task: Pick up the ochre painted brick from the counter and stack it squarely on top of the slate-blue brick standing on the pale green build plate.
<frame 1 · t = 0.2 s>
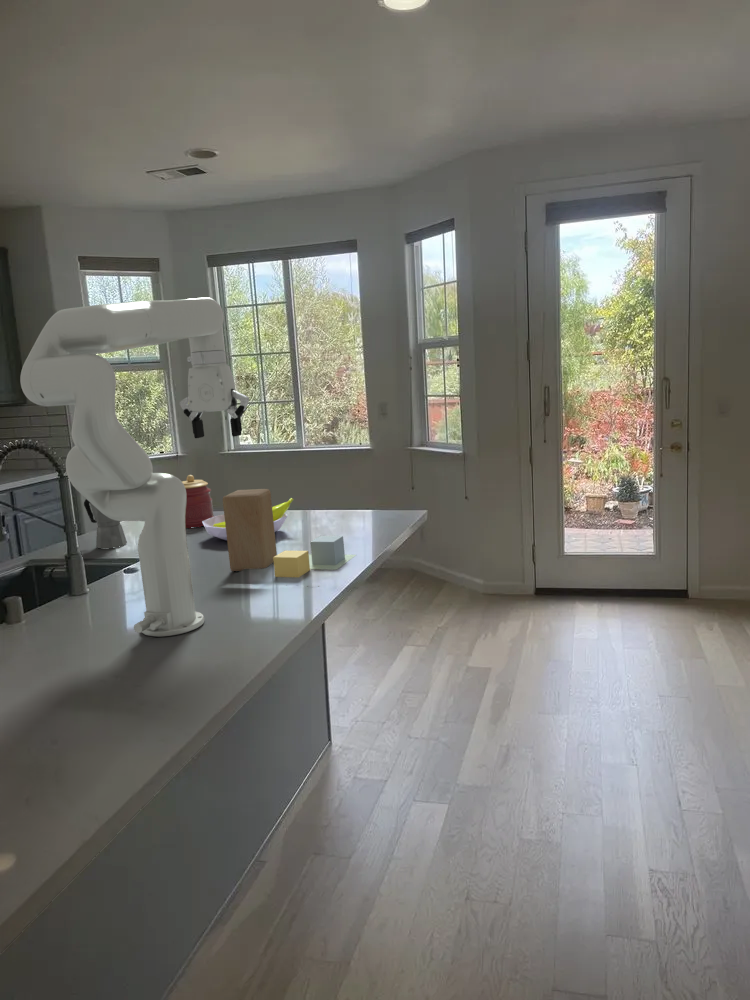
hand: (218, 436, 167), 36 cm above the worktop, tool pointing down, fingers open, 9 cm apart
build plate: (322, 565, 190), on the worktop
coffeepot: (109, 546, 233), on the worktop
block: (254, 567, 193), on the worktop
fruit bowl: (250, 537, 231), on the worktop
canister: (196, 525, 256), on the worktop
ochre brick: (293, 577, 180), on the worktop
slate brick: (328, 561, 189), point 1 cm above the worktop, touching build plate
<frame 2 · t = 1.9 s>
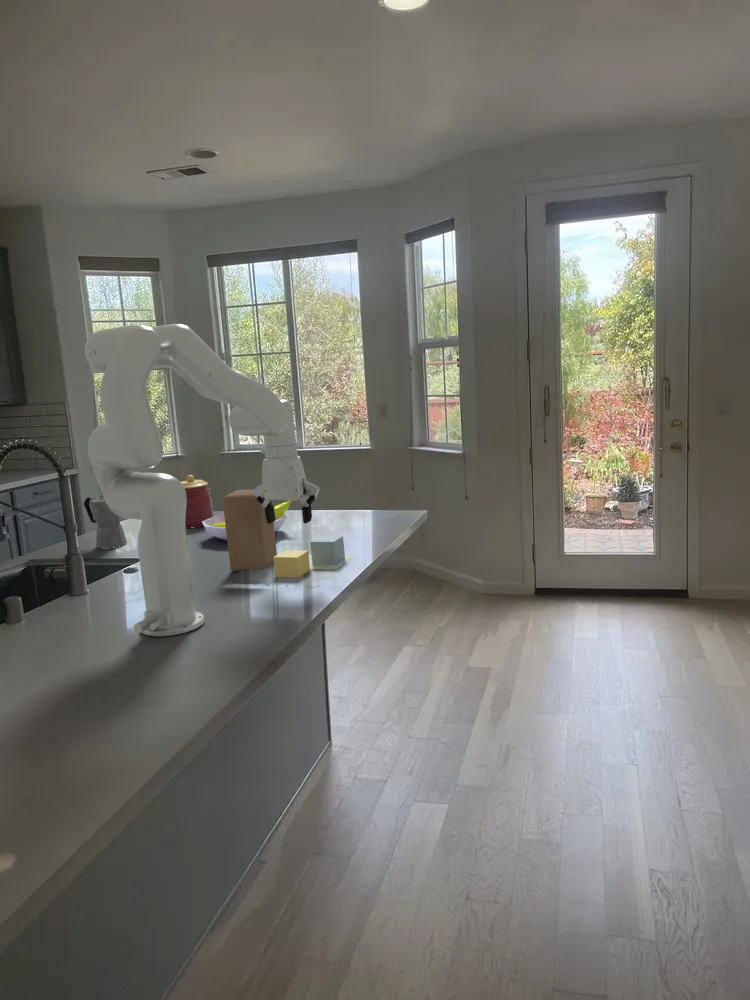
hand: (289, 522, 178), 14 cm above the worktop, tool pointing down, fingers open, 9 cm apart
nothing on the worktop moved.
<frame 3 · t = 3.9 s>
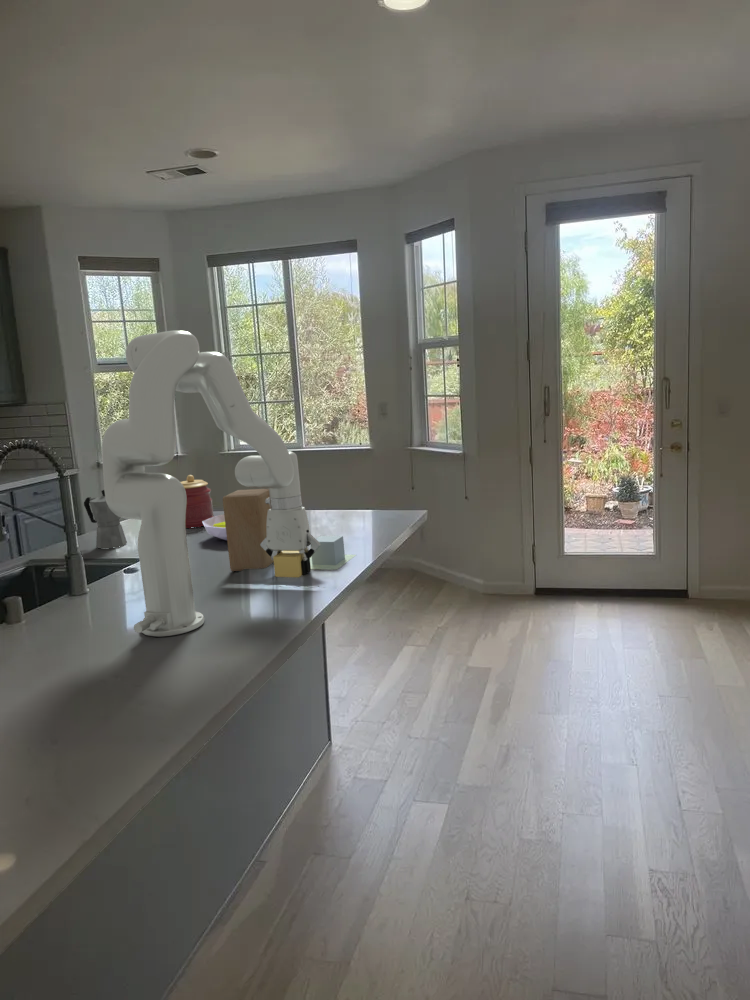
hand: (293, 574, 180), 1 cm above the worktop, tool pointing down, fingers closed on ochre brick, 6 cm apart
ochre brick: (293, 577, 180), on the worktop, touching gripper
everything else where it was.
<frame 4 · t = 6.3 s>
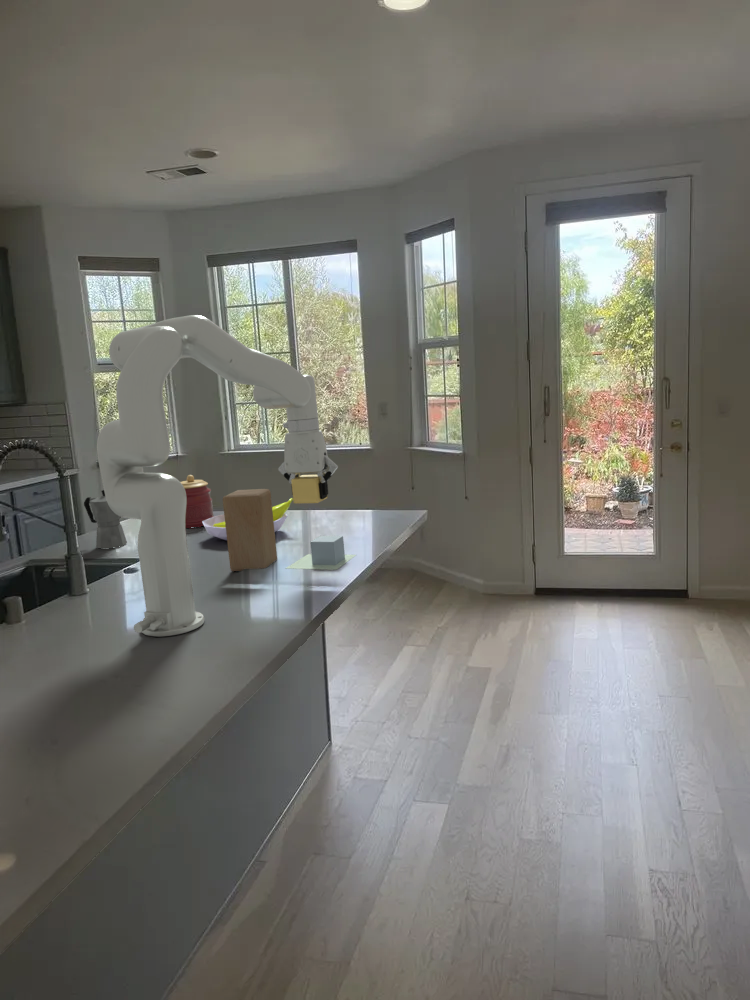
hand: (310, 497, 183), 18 cm above the worktop, tool pointing down, fingers closed on ochre brick, 6 cm apart
ochre brick: (310, 500, 183), point 18 cm above the worktop, touching gripper
everything else where it was.
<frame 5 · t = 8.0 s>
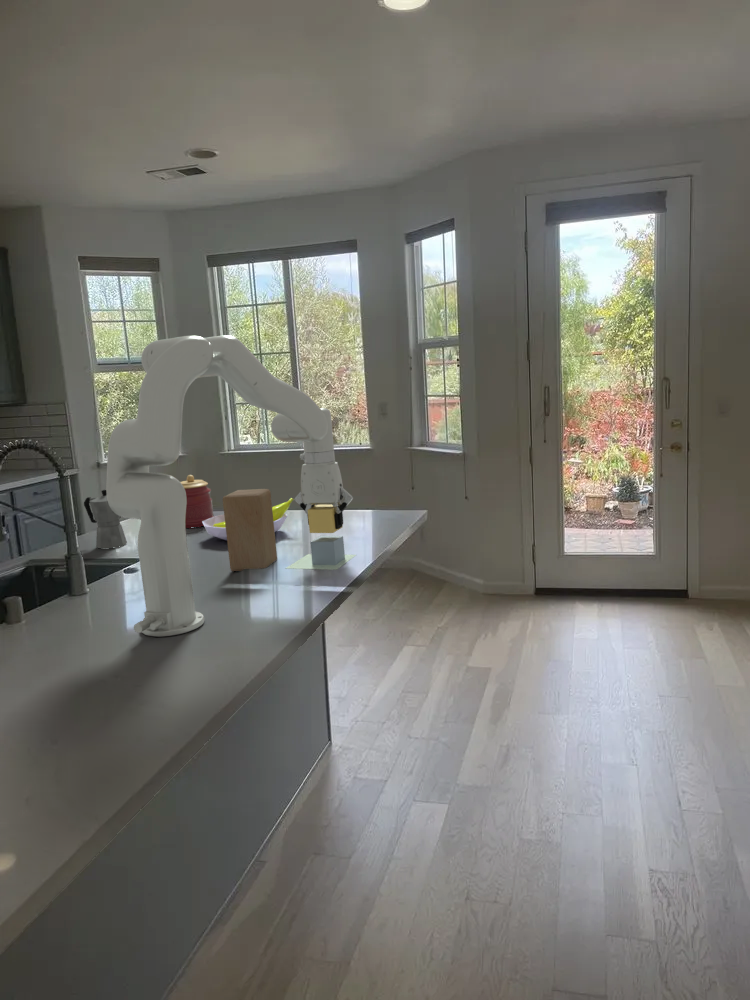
hand: (326, 527, 187), 10 cm above the worktop, tool pointing down, fingers closed on ochre brick, 6 cm apart
ochre brick: (326, 530, 187), point 9 cm above the worktop, touching gripper
everything else where it was.
when the fingers open (9 cm above the worktop, at t = 9.1 s): ochre brick drops 1 cm, resting on slate brick.
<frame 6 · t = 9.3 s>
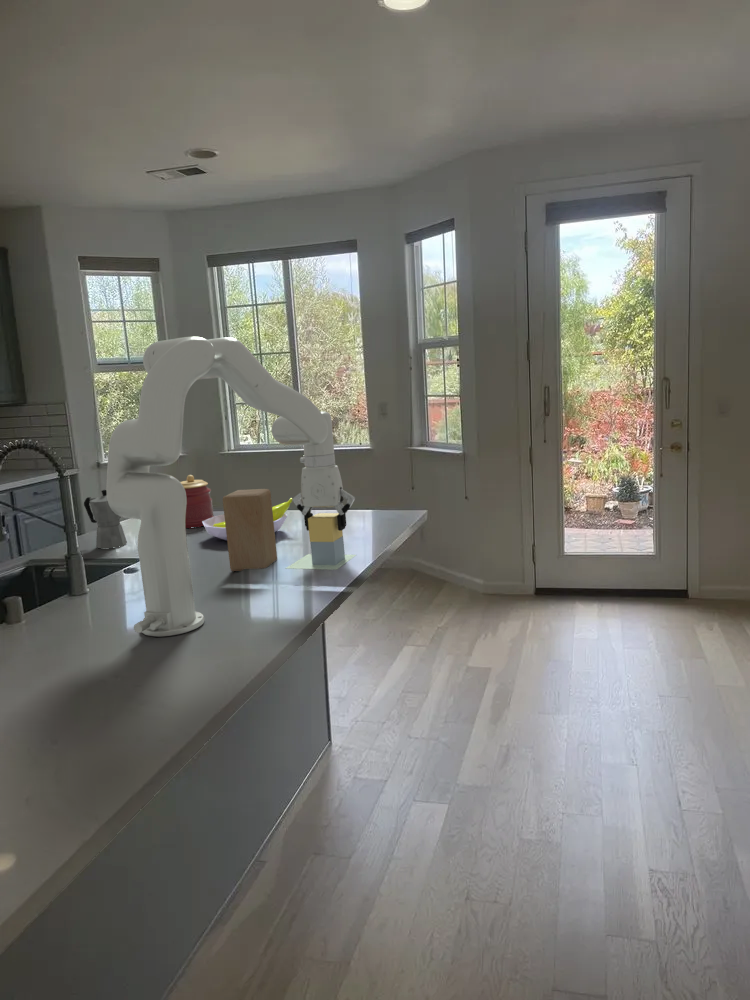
hand: (325, 529, 187), 10 cm above the worktop, tool pointing down, fingers open, 8 cm apart
ochre brick: (326, 538, 188), point 7 cm above the worktop, touching slate brick
slate brick: (328, 561, 189), point 1 cm above the worktop, touching build plate, ochre brick
everything else where it was.
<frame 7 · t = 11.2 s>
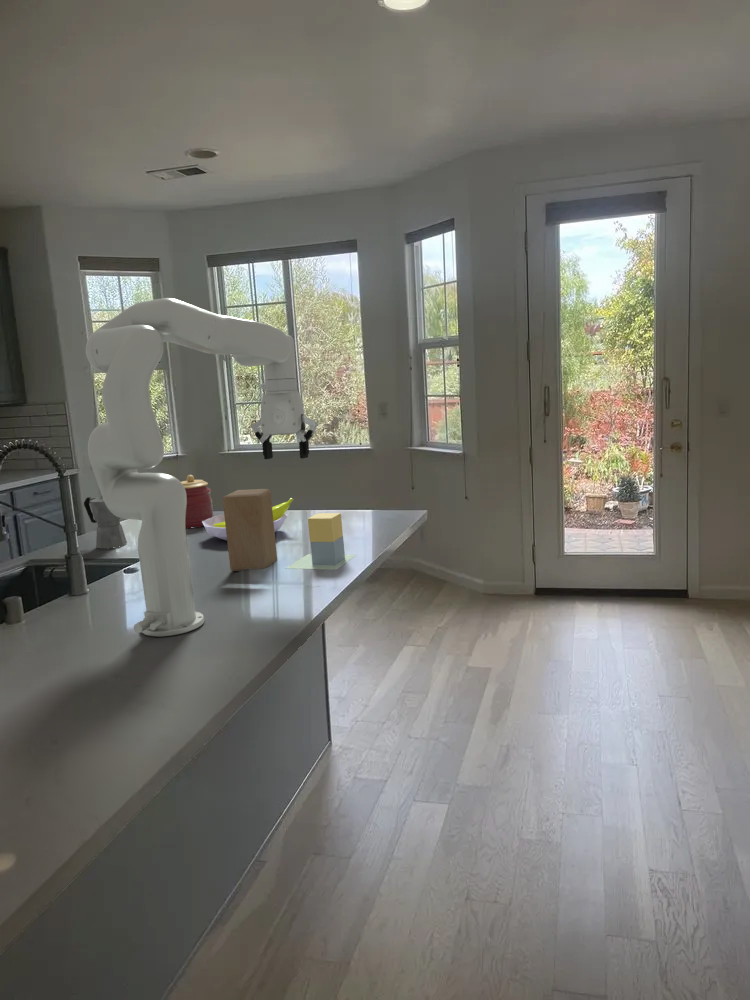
hand: (286, 458, 179), 29 cm above the worktop, tool pointing down, fingers open, 9 cm apart
nothing on the worktop moved.
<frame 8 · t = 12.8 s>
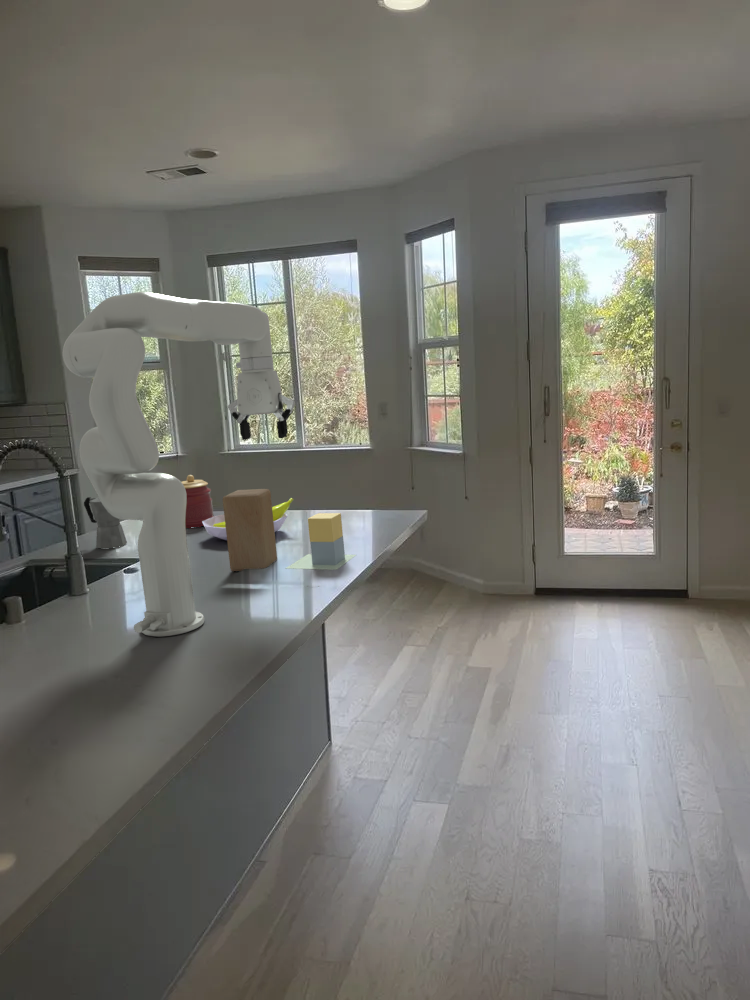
hand: (264, 438, 176), 34 cm above the worktop, tool pointing down, fingers open, 9 cm apart
nothing on the worktop moved.
at the end: ochre brick 0.1 cm off-centre on the slate brick, point 6.0 cm above the slate brick's base; ochre brick tilted 0°; the gripper is holding nothing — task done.
